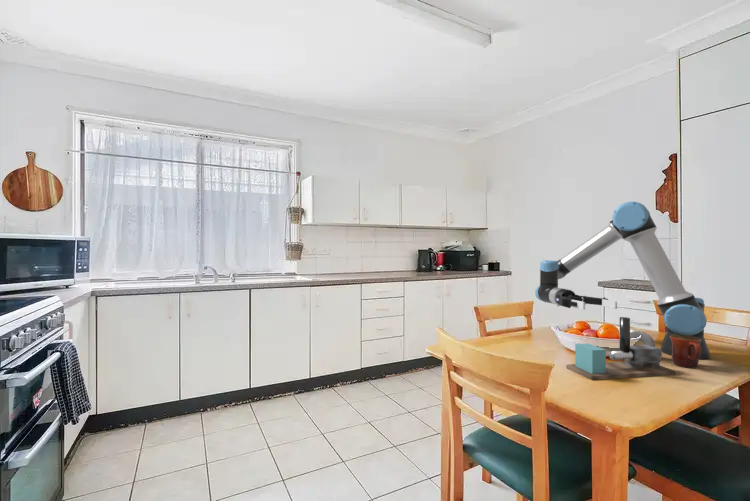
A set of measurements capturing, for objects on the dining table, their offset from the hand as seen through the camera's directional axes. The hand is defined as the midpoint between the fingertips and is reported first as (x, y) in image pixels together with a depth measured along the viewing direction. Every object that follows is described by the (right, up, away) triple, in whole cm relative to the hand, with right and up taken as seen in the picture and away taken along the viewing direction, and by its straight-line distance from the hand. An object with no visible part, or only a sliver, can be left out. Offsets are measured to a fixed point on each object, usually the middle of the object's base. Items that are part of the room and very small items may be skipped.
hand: (600, 305), depth 138 cm
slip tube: (+6, -17, -10) cm, 21 cm away
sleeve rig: (0, -21, -11) cm, 24 cm away
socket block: (-11, -20, -13) cm, 26 cm away
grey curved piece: (+19, -21, +6) cm, 30 cm away
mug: (+28, -21, -6) cm, 36 cm away
